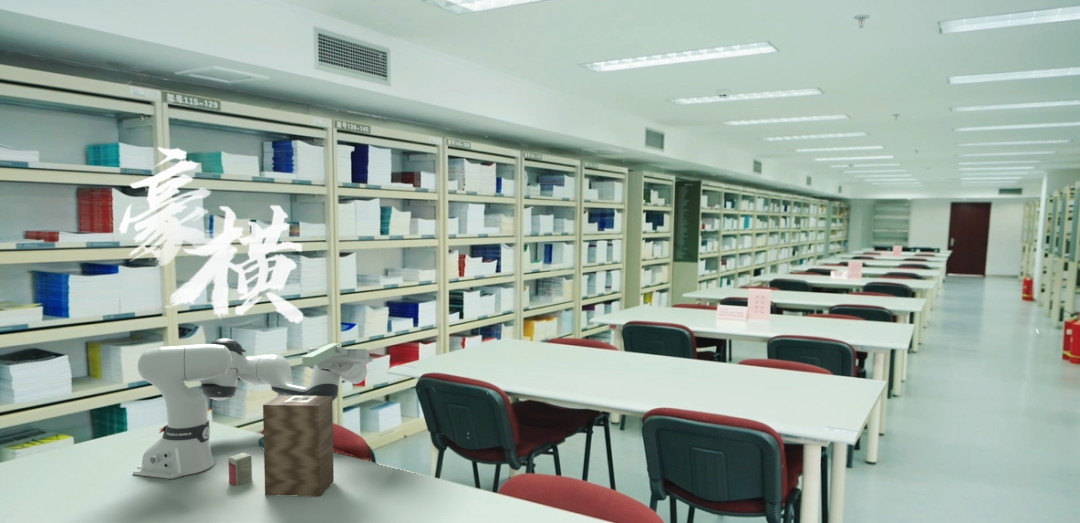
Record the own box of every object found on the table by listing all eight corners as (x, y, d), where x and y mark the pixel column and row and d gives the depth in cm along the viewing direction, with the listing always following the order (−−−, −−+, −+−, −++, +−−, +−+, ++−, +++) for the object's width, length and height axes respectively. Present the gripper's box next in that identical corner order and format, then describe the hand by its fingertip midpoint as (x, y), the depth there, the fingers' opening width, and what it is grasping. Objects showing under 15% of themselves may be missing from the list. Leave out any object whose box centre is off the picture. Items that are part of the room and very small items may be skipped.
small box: (244, 477, 192) (243, 451, 192) (252, 480, 190) (251, 454, 189) (228, 482, 188) (227, 456, 188) (236, 486, 186) (235, 459, 185)
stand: (265, 495, 179) (263, 404, 178) (281, 481, 189) (279, 395, 188) (320, 496, 179) (318, 405, 177) (333, 482, 188) (332, 396, 187)
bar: (302, 366, 189) (302, 356, 188) (330, 352, 210) (330, 343, 210) (312, 366, 188) (312, 356, 188) (339, 352, 210) (339, 343, 210)
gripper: (372, 370, 218) (360, 357, 205) (314, 369, 219) (299, 357, 206) (375, 352, 220) (363, 339, 208) (317, 352, 221) (303, 338, 209)
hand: (331, 348), depth 207 cm, fingers closed on bar, 3 cm apart
